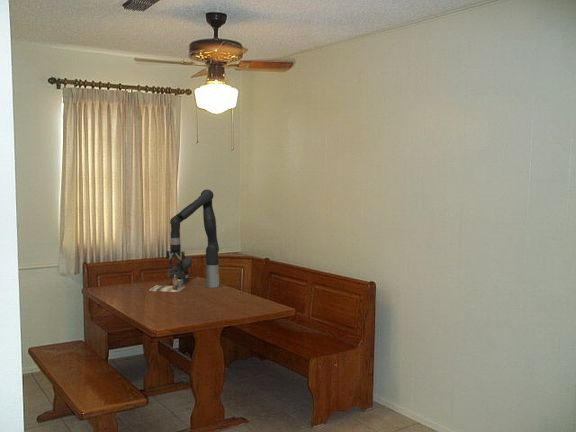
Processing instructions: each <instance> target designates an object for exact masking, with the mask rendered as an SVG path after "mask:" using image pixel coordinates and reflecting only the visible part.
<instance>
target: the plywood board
mask: <svg viewBox="0 0 576 432" xmlns="http://www.w3.org/2000/svg"><path fill="white" fill-rule="evenodd" d="M184 289H186V286H185V285H183V287H182V288H177V290H172V285H155V286H153V287H151V288H150V289H149V292H165V293H166V292H168V293H169V292H173V293H174V292H175V293H176V292H177V293H180V292H182V291H183V290H184Z"/></svg>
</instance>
